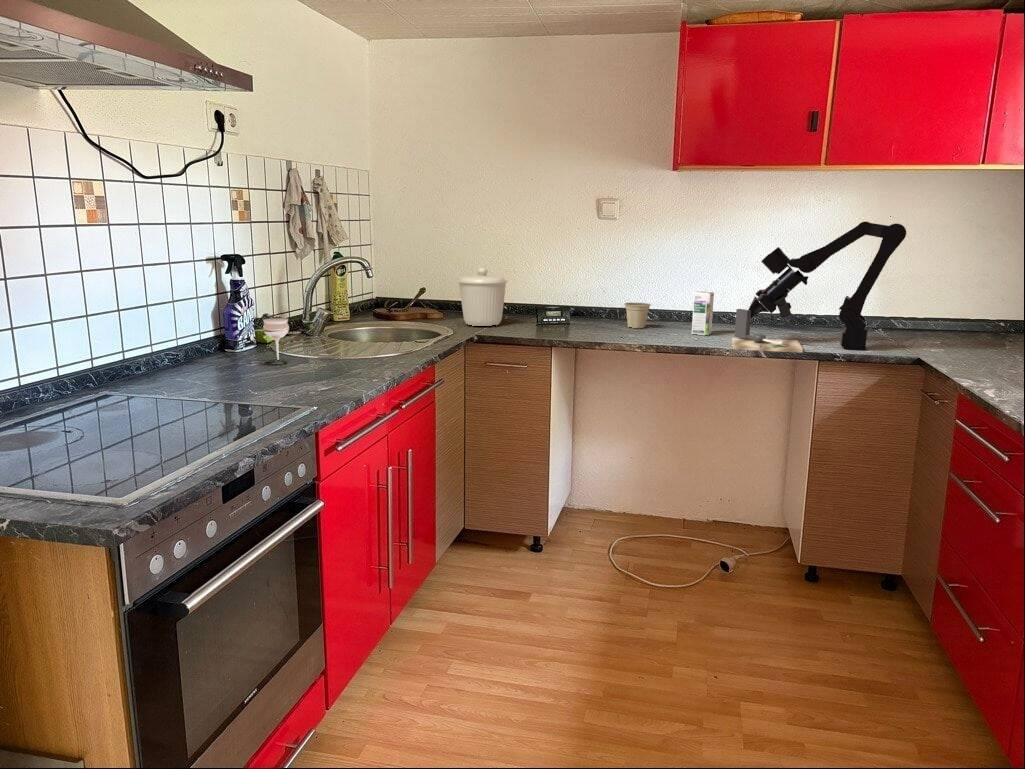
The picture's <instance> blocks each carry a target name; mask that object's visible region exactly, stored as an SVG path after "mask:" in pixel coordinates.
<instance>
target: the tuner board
mask: <svg viewBox="0 0 1025 769" xmlns="http://www.w3.org/2000/svg"><path fill="white" fill-rule="evenodd" d="M768 339H769V340H774V341H778V342H780V341H782V342H783V345H779V344H776V343H771V342H767V341H765V342H754V341H753V340H754V339H743V338H739V337H732V338H731V340H732V343H731V344H732V349H733V350H740V351H761V352H762V351H764V352H778V353H779V352H783V353H785V352H786V353H804V352H803V350H804V349H803V347H802V345H801V343H800V342H799V341H798V340H796V339H794V340H793V339H777V338H776V339H773V338H772V339H771V338H768Z"/></svg>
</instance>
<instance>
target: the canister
mask: <svg viewBox="0 0 1025 769" xmlns="http://www.w3.org/2000/svg"><path fill="white" fill-rule="evenodd" d="M457 282H458V284H459V291H460V292H459V293H460V299H461V300H460V301H461V302H460V303H461V308H462V315H463V320H464V323H465V324H466V325H467V324H468V325H467V326H469V325H472V326H471V327H473V326H492V325H496V326H498V325H500V323H501V322H502V318H503V313H504V302H505V296H506V294H505V293H506V285H507V283H508V279H505V278H504V277H503V276H501V275H493V274H491V275H490V274H488V269H487V268H486V267H479V268H478V269H477V274H472V275H464V276H462V277H461V278H460V279H458V280H457ZM492 327H493V326H492Z"/></svg>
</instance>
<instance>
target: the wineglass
mask: <svg viewBox="0 0 1025 769" xmlns="http://www.w3.org/2000/svg"><path fill="white" fill-rule="evenodd" d="M262 321H263V326H262V328H263V332H264V334H265V335H267V337H269V338H271V339H273V340H274V341H275V349H276V350H275V351H276V359H277V360H280V355H279V354H280V353H279V352H280V351H279V349H280V348H279V347H280V344H279V343H280V342H279V341H280V340H281V339H282V338H283V337H285V336H286V335H287V334H289V331H290V325H289V323H288V321H289V318H284V317H283V318H282V317H281V318H280V317H274V318H273V317H272V318H265V319H262ZM277 360H276V361H277Z"/></svg>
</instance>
